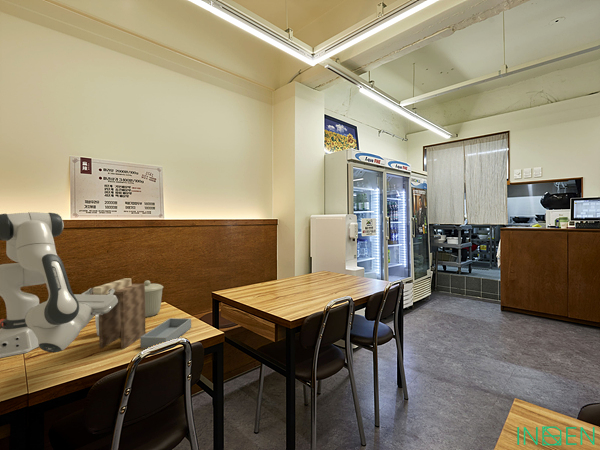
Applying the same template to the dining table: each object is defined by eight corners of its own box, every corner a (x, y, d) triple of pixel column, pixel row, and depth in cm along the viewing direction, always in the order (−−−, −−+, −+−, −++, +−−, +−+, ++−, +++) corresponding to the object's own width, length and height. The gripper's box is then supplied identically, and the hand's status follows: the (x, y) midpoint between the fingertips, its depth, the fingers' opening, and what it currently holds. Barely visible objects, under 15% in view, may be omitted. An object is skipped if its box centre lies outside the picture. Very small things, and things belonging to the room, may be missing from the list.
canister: (127, 321, 171) (127, 284, 171) (134, 311, 188) (133, 278, 188) (162, 317, 177) (161, 282, 176) (165, 308, 194) (165, 276, 193)
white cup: (104, 336, 148) (104, 317, 148) (91, 335, 150) (91, 316, 149) (117, 331, 156) (117, 312, 156) (104, 330, 157) (104, 311, 157)
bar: (101, 296, 126) (100, 287, 126) (93, 295, 127) (93, 287, 126) (131, 285, 146) (131, 278, 146) (124, 285, 146) (124, 278, 146)
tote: (165, 348, 134) (165, 337, 134) (140, 347, 135) (140, 337, 135) (191, 327, 160) (191, 318, 159) (169, 327, 161) (169, 318, 160)
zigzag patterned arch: (124, 348, 134) (123, 291, 134) (99, 347, 135) (98, 291, 135) (145, 334, 150) (144, 283, 150) (123, 334, 151) (122, 283, 151)
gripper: (102, 309, 115) (122, 284, 127) (53, 307, 117) (78, 283, 129) (108, 320, 119) (127, 295, 131) (60, 318, 120) (84, 294, 132)
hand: (102, 289), depth 130 cm, fingers open, 8 cm apart
